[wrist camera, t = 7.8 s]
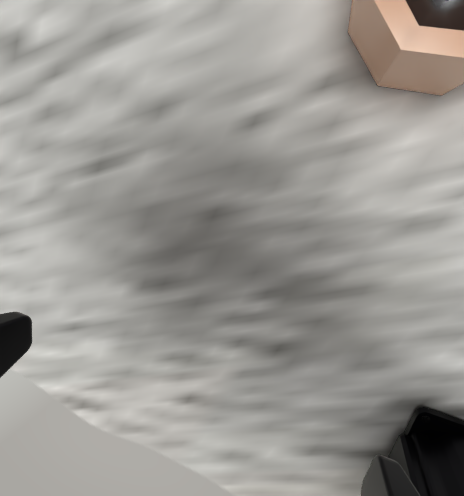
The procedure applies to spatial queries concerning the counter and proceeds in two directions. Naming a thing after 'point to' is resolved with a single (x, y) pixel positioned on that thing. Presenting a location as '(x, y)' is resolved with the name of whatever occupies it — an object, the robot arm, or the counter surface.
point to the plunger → (438, 13)
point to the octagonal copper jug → (406, 48)
